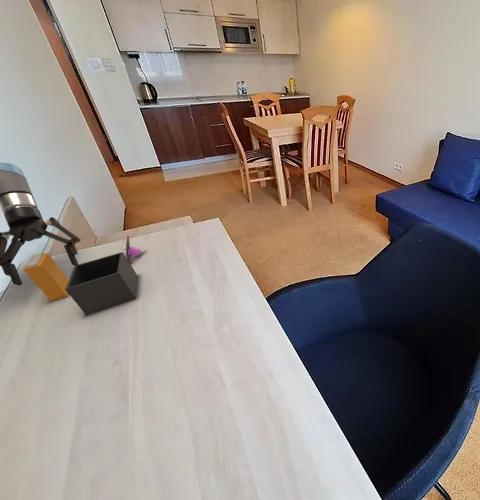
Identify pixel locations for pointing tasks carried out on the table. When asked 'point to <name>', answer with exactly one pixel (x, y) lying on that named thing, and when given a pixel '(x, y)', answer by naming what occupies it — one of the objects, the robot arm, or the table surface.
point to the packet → (47, 276)
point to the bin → (102, 283)
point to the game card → (131, 250)
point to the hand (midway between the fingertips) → (47, 274)
